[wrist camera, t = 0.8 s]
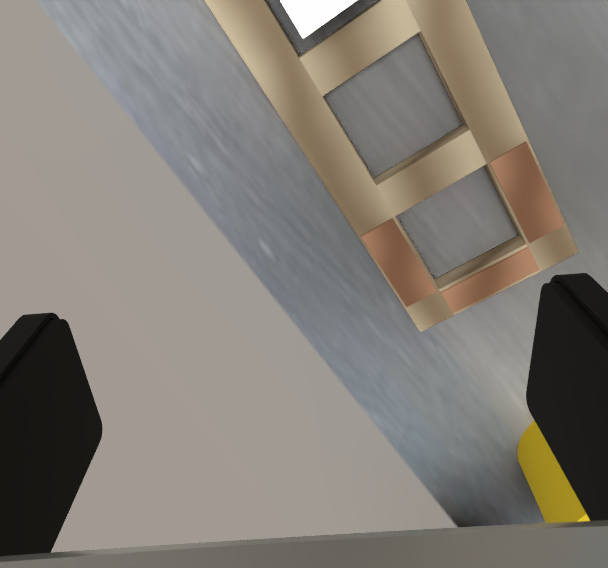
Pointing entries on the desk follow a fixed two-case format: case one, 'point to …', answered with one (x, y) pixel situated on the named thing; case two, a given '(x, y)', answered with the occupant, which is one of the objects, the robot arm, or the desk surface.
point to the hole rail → (422, 165)
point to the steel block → (313, 12)
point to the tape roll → (548, 479)
